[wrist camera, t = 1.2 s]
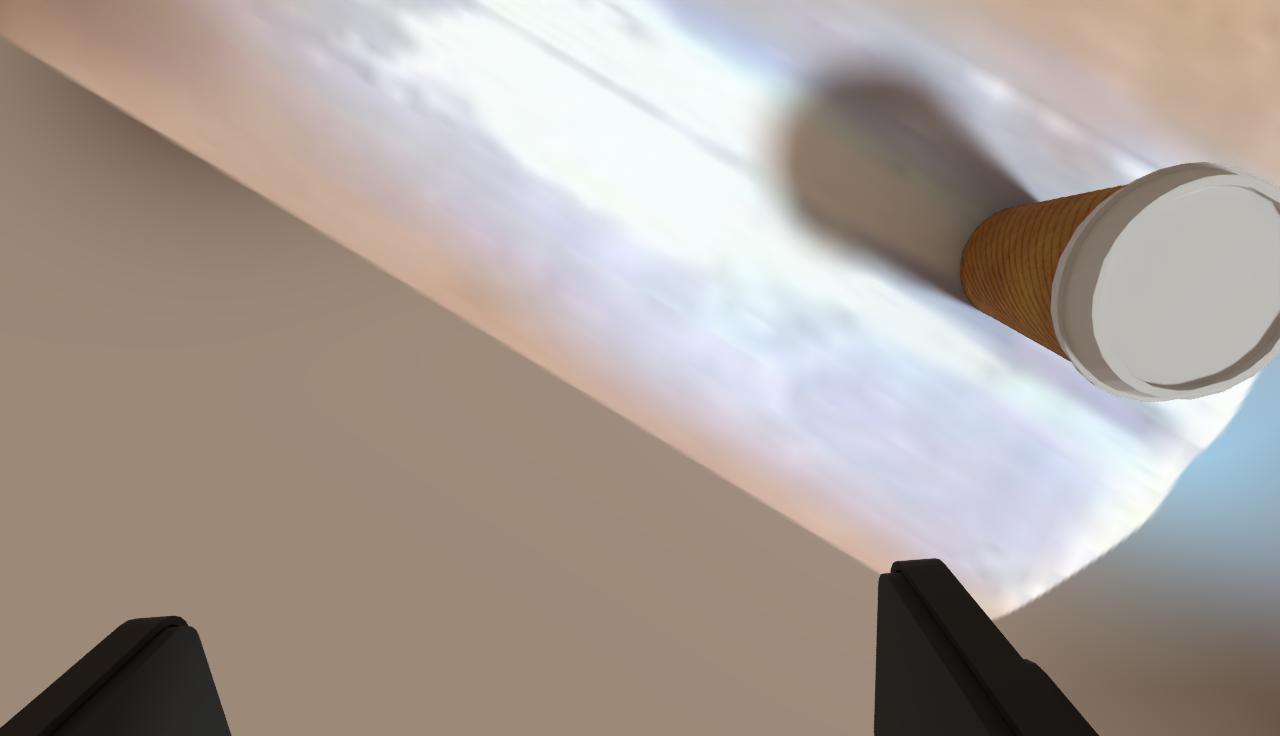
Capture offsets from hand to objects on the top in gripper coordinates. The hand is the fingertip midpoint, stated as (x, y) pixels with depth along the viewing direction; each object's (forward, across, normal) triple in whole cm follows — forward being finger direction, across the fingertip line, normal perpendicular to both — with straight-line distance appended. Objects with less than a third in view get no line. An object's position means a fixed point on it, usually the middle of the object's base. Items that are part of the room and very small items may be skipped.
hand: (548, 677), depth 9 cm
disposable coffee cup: (+29, -23, 0) cm, 37 cm away
